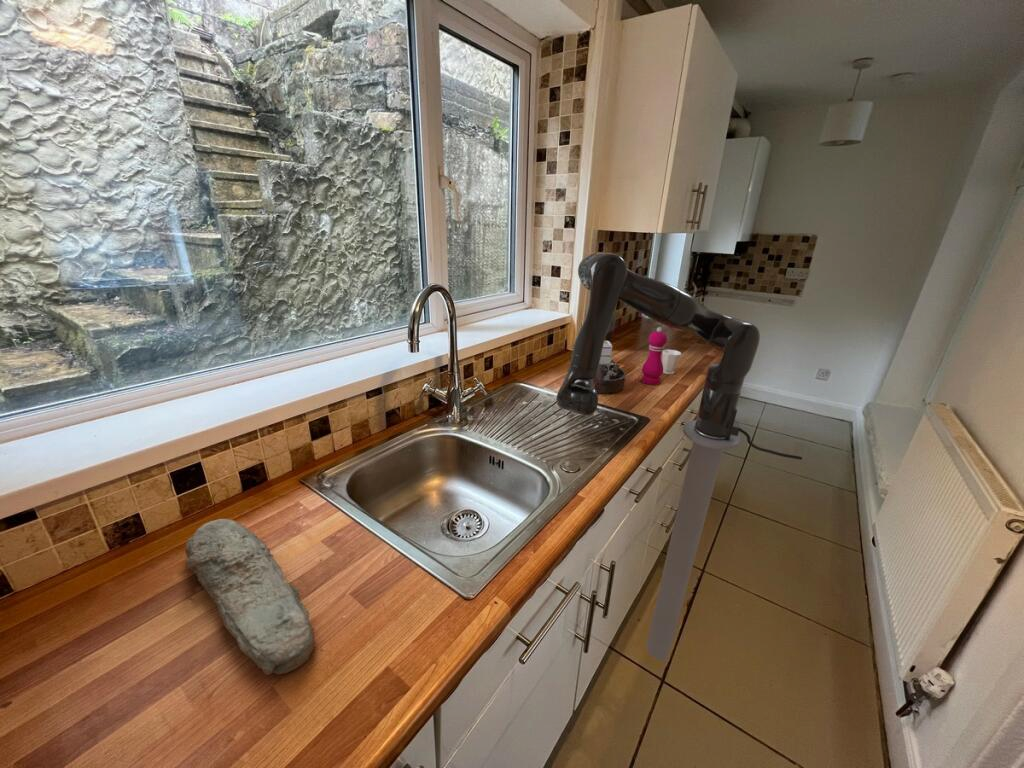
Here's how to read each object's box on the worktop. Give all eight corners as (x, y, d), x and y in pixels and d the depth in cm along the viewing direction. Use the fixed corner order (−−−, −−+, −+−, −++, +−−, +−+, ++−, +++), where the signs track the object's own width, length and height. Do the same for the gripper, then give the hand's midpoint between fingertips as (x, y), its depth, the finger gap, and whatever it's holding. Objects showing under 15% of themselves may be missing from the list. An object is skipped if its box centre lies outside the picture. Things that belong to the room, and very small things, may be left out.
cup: (655, 372, 155) (659, 352, 152) (665, 365, 162) (668, 346, 159) (674, 377, 151) (678, 356, 148) (683, 370, 158) (687, 350, 155)
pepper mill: (658, 387, 141) (668, 331, 134) (637, 382, 145) (646, 327, 137) (663, 380, 147) (673, 326, 140) (643, 376, 151) (651, 323, 143)
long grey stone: (256, 710, 48) (337, 651, 55) (250, 682, 46) (334, 624, 53) (173, 548, 68) (240, 520, 75) (166, 523, 66) (236, 497, 73)
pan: (628, 380, 146) (630, 367, 144) (618, 398, 132) (620, 384, 130) (581, 372, 153) (582, 359, 151) (566, 388, 138) (568, 374, 136)
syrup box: (608, 385, 139) (613, 345, 134) (591, 385, 139) (595, 344, 134) (605, 379, 144) (609, 340, 139) (588, 379, 144) (592, 339, 139)
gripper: (615, 369, 115) (622, 352, 129) (566, 361, 119) (578, 346, 133) (612, 393, 117) (619, 374, 132) (564, 385, 122) (576, 368, 136)
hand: (598, 360), depth 132 cm, fingers open, 8 cm apart
